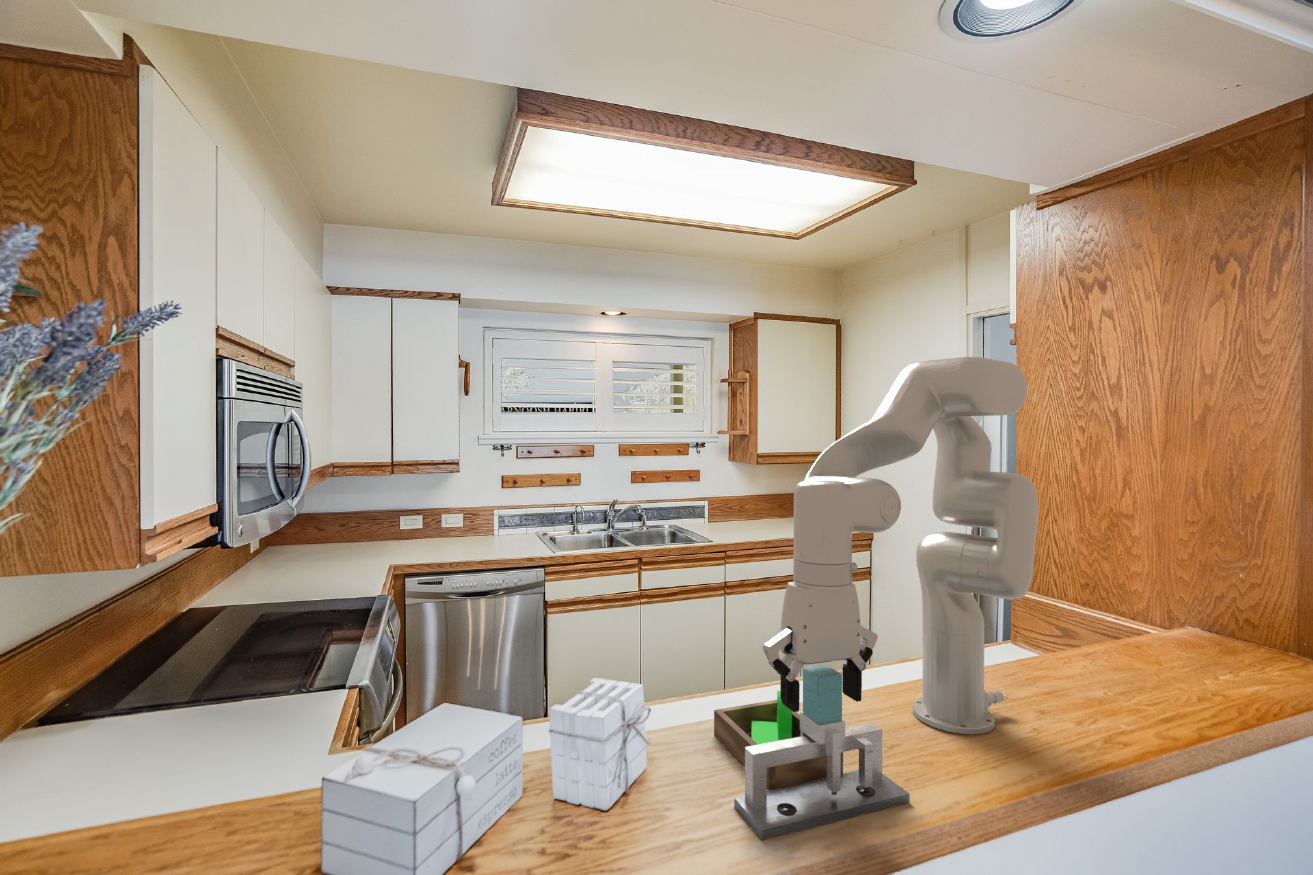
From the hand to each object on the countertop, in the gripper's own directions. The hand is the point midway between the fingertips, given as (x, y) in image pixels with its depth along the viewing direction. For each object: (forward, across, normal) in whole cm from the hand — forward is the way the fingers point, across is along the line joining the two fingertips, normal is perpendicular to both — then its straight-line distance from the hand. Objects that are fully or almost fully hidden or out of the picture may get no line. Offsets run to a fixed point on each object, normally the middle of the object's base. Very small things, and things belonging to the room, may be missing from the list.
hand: (821, 702), depth 81 cm
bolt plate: (+13, +1, +1) cm, 13 cm away
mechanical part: (+12, 0, -12) cm, 17 cm away
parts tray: (+12, 0, -12) cm, 17 cm away
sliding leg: (+11, 0, 0) cm, 11 cm away
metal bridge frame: (+13, +1, +1) cm, 13 cm away
